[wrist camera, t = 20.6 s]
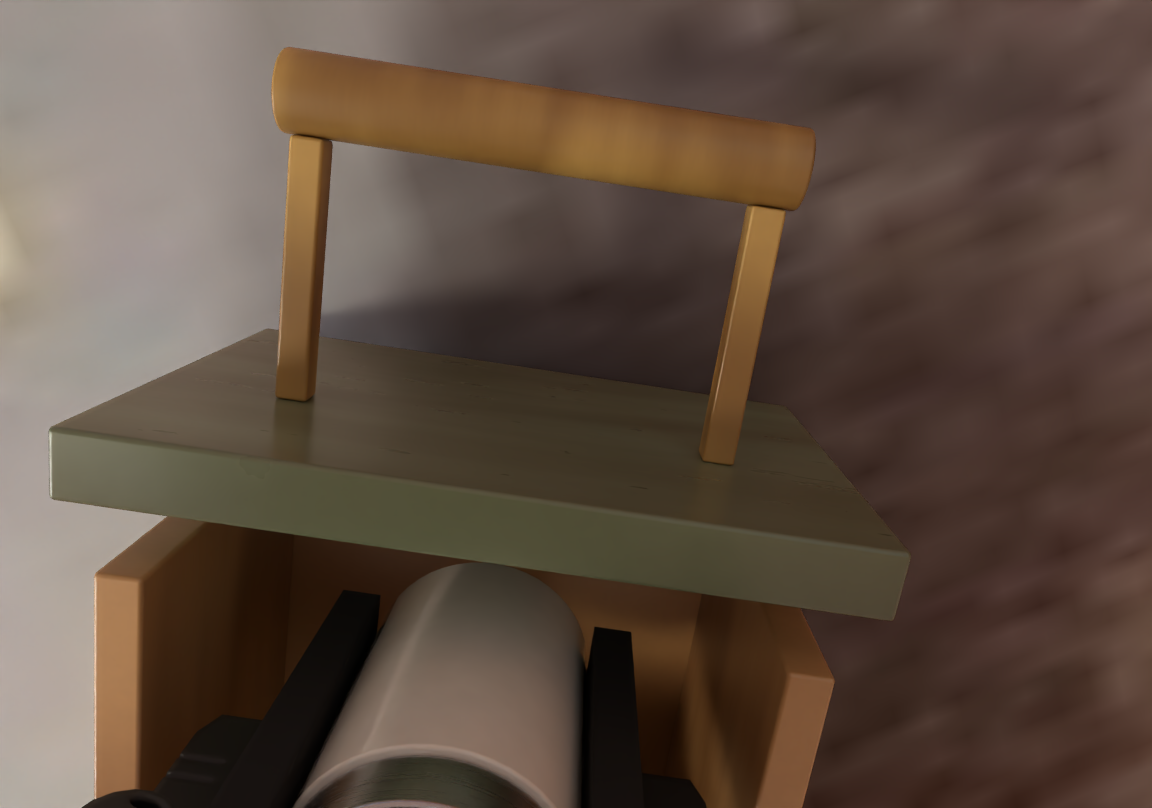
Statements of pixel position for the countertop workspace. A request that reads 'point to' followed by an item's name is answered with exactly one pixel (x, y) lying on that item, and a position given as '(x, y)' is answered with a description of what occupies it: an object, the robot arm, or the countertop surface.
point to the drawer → (482, 464)
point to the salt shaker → (462, 701)
